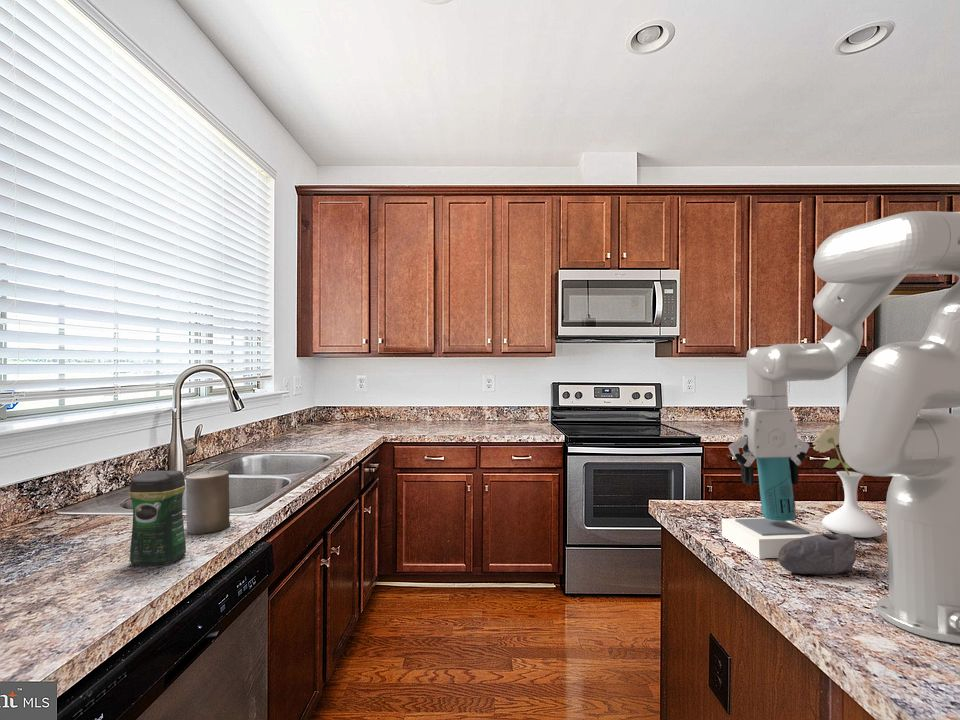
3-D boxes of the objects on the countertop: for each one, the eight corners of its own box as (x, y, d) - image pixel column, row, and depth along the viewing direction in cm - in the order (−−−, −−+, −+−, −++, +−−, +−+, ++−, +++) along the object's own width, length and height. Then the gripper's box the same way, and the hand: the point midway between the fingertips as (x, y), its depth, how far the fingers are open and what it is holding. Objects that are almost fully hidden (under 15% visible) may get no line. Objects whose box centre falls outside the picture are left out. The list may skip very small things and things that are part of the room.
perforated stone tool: (787, 579, 90) (786, 541, 91) (769, 568, 96) (768, 531, 96) (868, 577, 91) (867, 539, 91) (846, 566, 96) (845, 529, 96)
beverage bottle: (782, 530, 103) (772, 433, 104) (755, 522, 110) (745, 431, 110) (805, 524, 106) (794, 430, 106) (776, 517, 112) (767, 428, 112)
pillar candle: (238, 523, 129) (237, 465, 130) (209, 535, 120) (208, 472, 120) (207, 522, 132) (206, 464, 132) (176, 533, 122) (175, 472, 123)
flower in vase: (861, 526, 119) (858, 421, 120) (896, 542, 108) (893, 427, 108) (804, 525, 120) (801, 421, 121) (832, 541, 109) (829, 427, 110)
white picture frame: (826, 557, 100) (826, 535, 101) (759, 559, 100) (758, 537, 100) (781, 534, 114) (781, 515, 115) (722, 536, 114) (721, 516, 114)
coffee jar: (192, 552, 109) (192, 466, 109) (169, 567, 101) (169, 474, 101) (148, 553, 109) (148, 467, 109) (121, 567, 101) (121, 475, 101)
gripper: (738, 405, 104) (740, 488, 103) (818, 404, 104) (821, 486, 104) (719, 403, 111) (721, 481, 111) (794, 402, 112) (796, 478, 111)
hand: (769, 483), depth 107 cm, fingers open, 9 cm apart
